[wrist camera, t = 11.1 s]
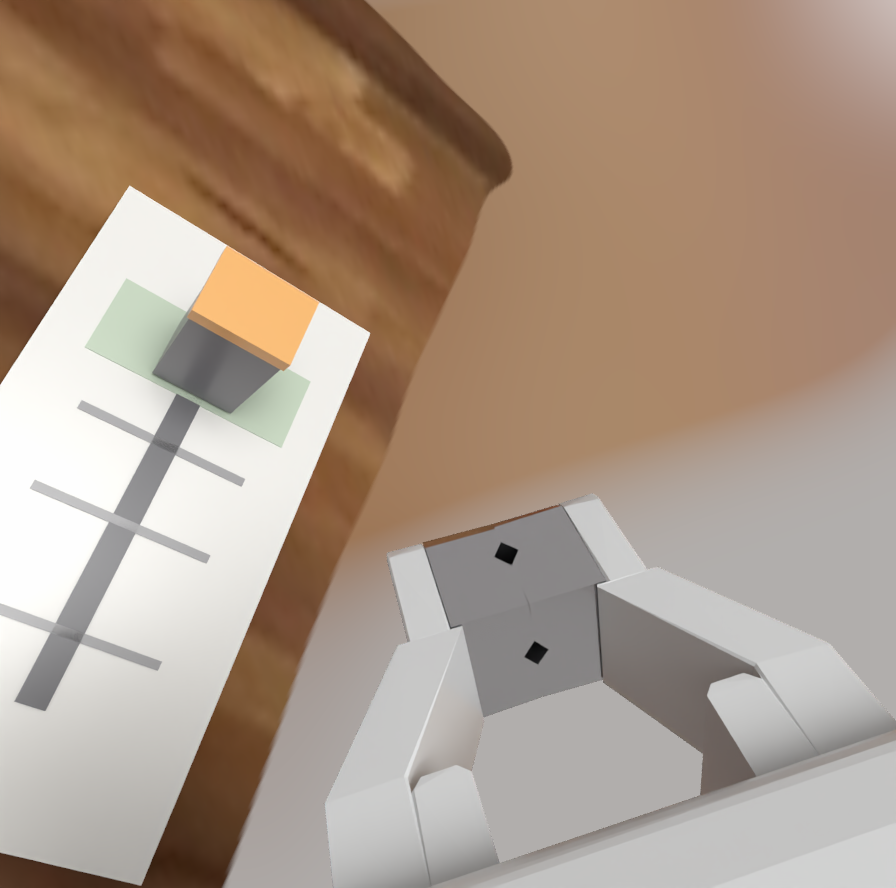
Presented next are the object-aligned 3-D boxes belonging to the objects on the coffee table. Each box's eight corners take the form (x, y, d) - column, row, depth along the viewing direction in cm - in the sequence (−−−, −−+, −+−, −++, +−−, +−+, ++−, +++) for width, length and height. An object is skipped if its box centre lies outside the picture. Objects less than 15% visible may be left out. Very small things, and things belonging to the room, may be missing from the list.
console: (132, 873, 32) (141, 886, 30) (-249, 781, 27) (-264, 791, 25) (355, 344, 44) (371, 332, 42) (122, 205, 38) (129, 184, 36)
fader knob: (231, 416, 36) (290, 365, 30) (148, 374, 35) (191, 309, 28) (257, 362, 38) (319, 302, 31) (179, 319, 36) (226, 245, 29)
